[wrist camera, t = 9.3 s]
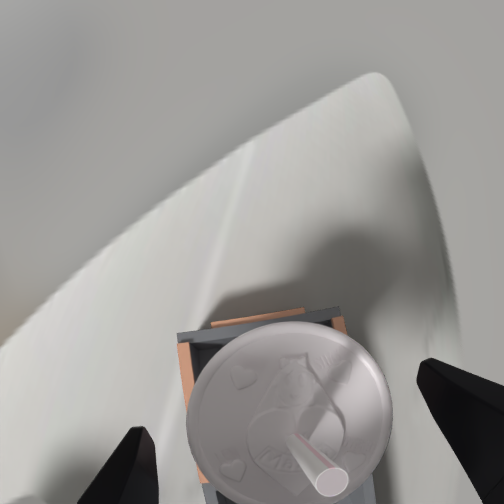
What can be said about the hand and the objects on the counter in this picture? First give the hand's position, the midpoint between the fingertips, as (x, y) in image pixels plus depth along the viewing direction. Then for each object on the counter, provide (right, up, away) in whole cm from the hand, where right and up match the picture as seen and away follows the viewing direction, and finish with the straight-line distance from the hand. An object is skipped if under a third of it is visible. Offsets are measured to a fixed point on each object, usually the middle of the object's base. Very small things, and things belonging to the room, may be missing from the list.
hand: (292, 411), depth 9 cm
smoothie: (0, -4, +9) cm, 10 cm away
